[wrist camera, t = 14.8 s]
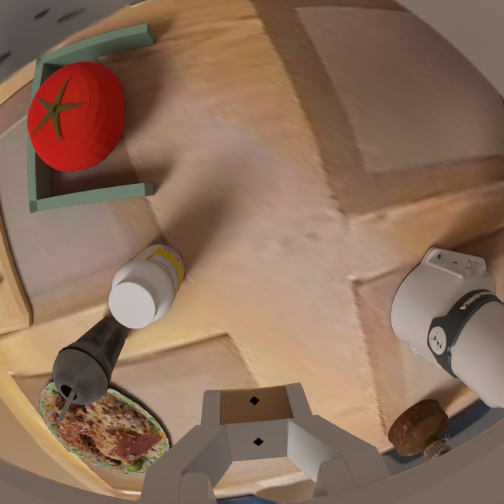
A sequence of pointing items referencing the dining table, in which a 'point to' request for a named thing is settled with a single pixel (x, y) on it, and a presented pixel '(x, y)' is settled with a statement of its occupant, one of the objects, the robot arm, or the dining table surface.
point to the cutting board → (11, 292)
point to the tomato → (77, 116)
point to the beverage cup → (89, 363)
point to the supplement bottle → (146, 286)
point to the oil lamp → (420, 430)
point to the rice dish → (105, 430)
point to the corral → (44, 69)
